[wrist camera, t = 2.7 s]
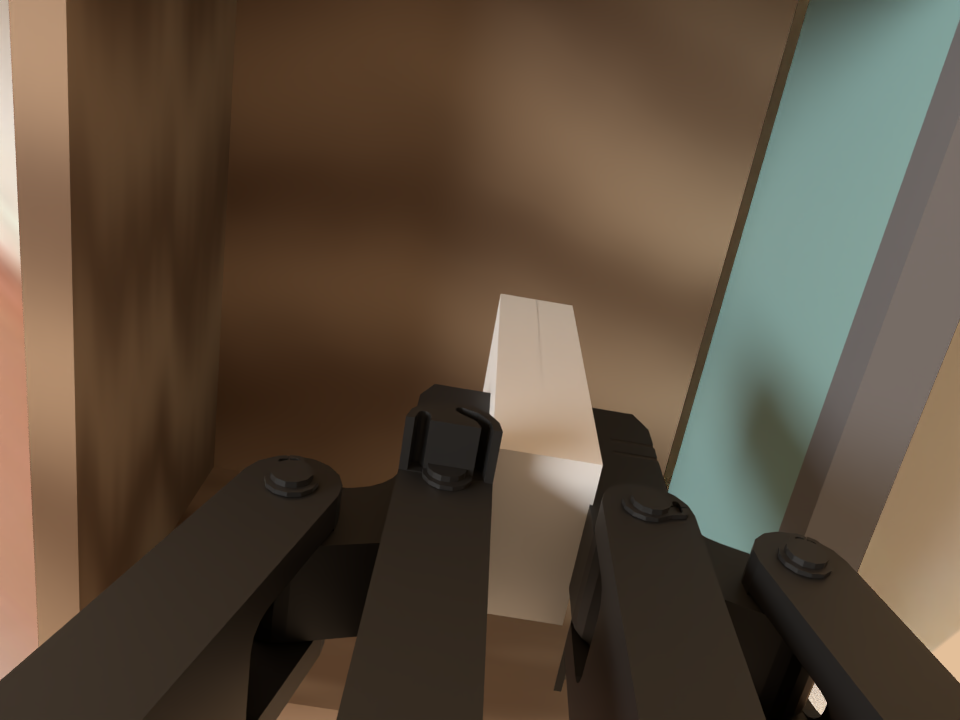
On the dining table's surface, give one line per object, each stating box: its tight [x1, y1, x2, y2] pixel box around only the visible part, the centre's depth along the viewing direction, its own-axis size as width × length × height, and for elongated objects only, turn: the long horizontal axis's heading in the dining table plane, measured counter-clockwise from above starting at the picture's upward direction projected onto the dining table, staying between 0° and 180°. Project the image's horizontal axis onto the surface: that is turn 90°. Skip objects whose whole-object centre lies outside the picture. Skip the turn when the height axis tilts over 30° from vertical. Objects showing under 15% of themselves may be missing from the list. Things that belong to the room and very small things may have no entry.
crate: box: [9, 0, 798, 720], centre depth 22 cm, size 21×16×11 cm
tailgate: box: [668, 0, 960, 572], centre depth 22 cm, size 21×1×10 cm, turn 171°
